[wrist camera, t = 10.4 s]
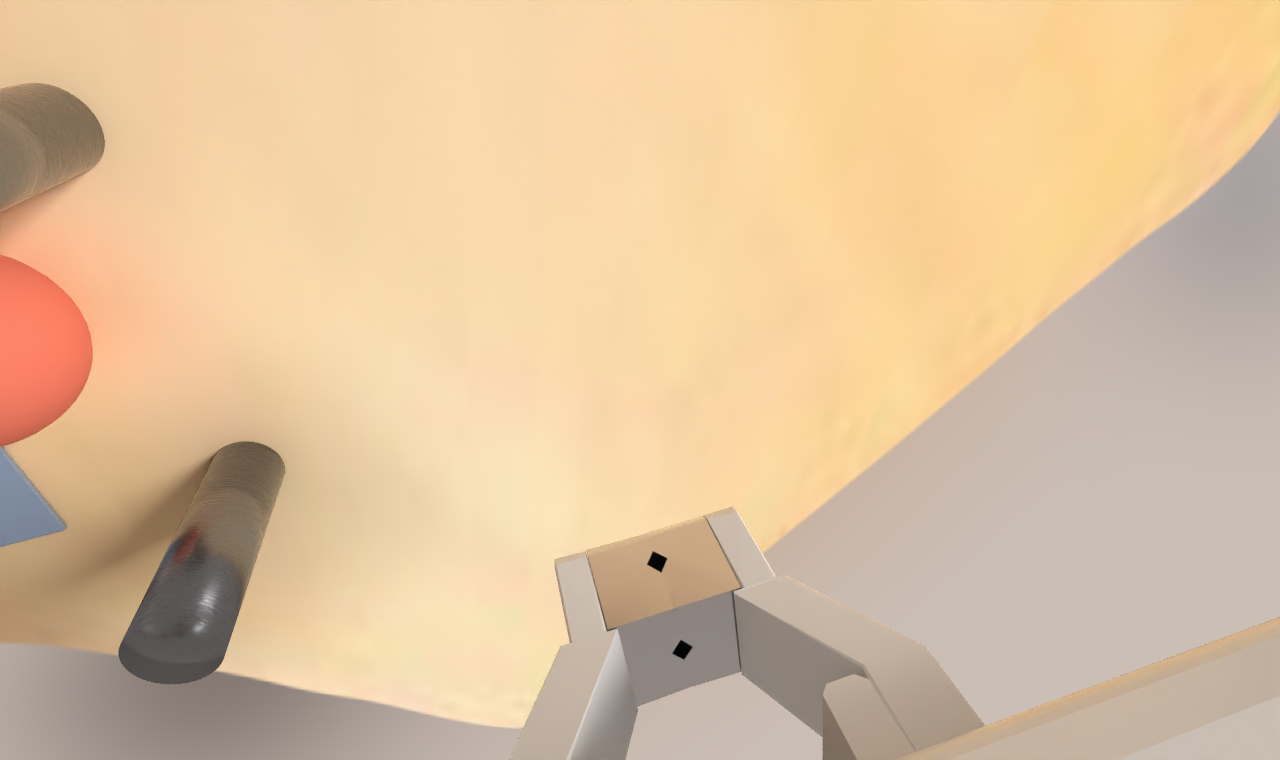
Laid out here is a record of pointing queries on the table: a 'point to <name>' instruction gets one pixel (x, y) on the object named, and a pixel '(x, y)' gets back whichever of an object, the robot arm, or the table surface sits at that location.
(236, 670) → the table surface
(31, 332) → the ball
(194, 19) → the table surface
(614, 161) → the table surface
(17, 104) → the post near
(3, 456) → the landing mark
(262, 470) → the post far
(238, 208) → the table surface
